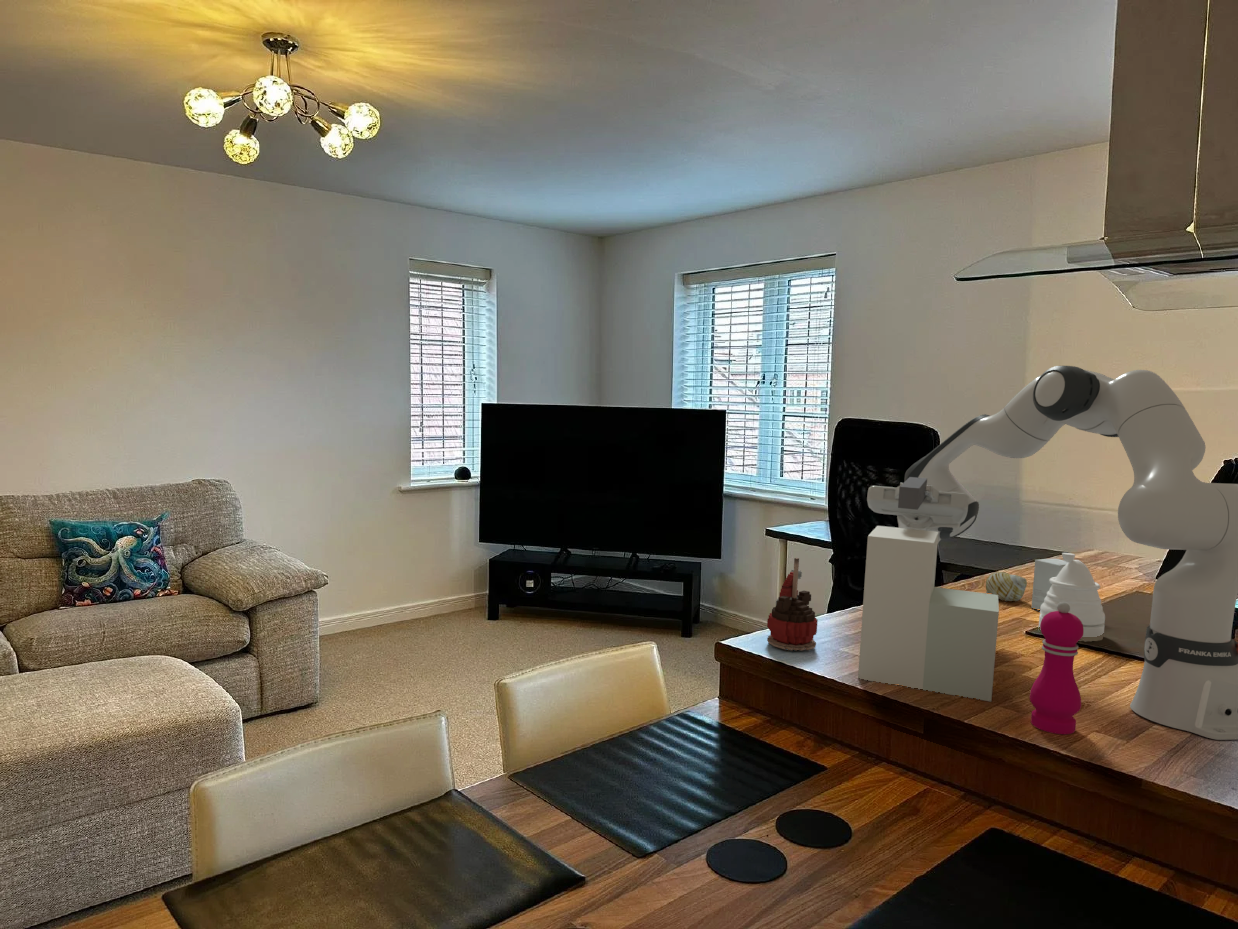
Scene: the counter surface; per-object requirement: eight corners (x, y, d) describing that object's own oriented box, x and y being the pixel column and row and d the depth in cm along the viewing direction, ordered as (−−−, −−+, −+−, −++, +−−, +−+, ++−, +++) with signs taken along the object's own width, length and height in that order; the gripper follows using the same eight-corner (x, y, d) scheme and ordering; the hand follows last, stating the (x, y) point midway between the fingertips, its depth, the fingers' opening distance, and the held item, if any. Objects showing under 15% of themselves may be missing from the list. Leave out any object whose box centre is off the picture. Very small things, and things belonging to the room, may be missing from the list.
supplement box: (1077, 614, 207) (1082, 563, 206) (1054, 616, 204) (1059, 565, 203) (1051, 607, 214) (1056, 557, 213) (1029, 608, 211) (1034, 558, 210)
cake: (796, 657, 163) (802, 565, 162) (756, 645, 170) (761, 557, 168) (825, 647, 171) (831, 559, 169) (785, 636, 177) (791, 551, 176)
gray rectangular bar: (908, 495, 179) (909, 476, 178) (925, 497, 177) (927, 478, 177) (897, 507, 159) (899, 486, 158) (917, 509, 157) (919, 488, 157)
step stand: (868, 657, 165) (877, 525, 163) (991, 677, 156) (1002, 538, 154) (857, 678, 152) (867, 535, 150) (991, 701, 143) (1004, 550, 141)
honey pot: (1055, 640, 183) (1062, 558, 182) (1028, 624, 196) (1034, 547, 194) (1115, 643, 183) (1123, 561, 181) (1084, 627, 196) (1091, 550, 194)
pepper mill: (1085, 738, 129) (1097, 610, 127) (1034, 733, 131) (1045, 605, 129) (1070, 721, 136) (1081, 599, 134) (1022, 715, 138) (1032, 594, 136)
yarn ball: (987, 588, 229) (1008, 559, 225) (1018, 612, 223) (1040, 582, 219) (971, 591, 222) (992, 561, 218) (1002, 615, 216) (1024, 584, 212)
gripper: (870, 495, 190) (865, 469, 179) (968, 504, 182) (970, 477, 171) (867, 521, 188) (861, 496, 176) (966, 531, 180) (967, 505, 168)
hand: (916, 487), depth 174 cm, fingers closed on gray rectangular bar, 3 cm apart
